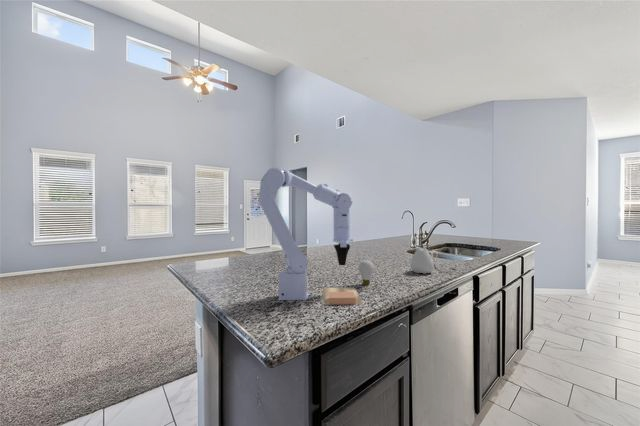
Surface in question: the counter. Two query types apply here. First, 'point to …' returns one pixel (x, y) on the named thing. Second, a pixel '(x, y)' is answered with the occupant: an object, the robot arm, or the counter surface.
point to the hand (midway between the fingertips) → (342, 264)
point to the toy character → (422, 261)
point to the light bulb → (366, 271)
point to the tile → (342, 298)
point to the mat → (350, 289)
